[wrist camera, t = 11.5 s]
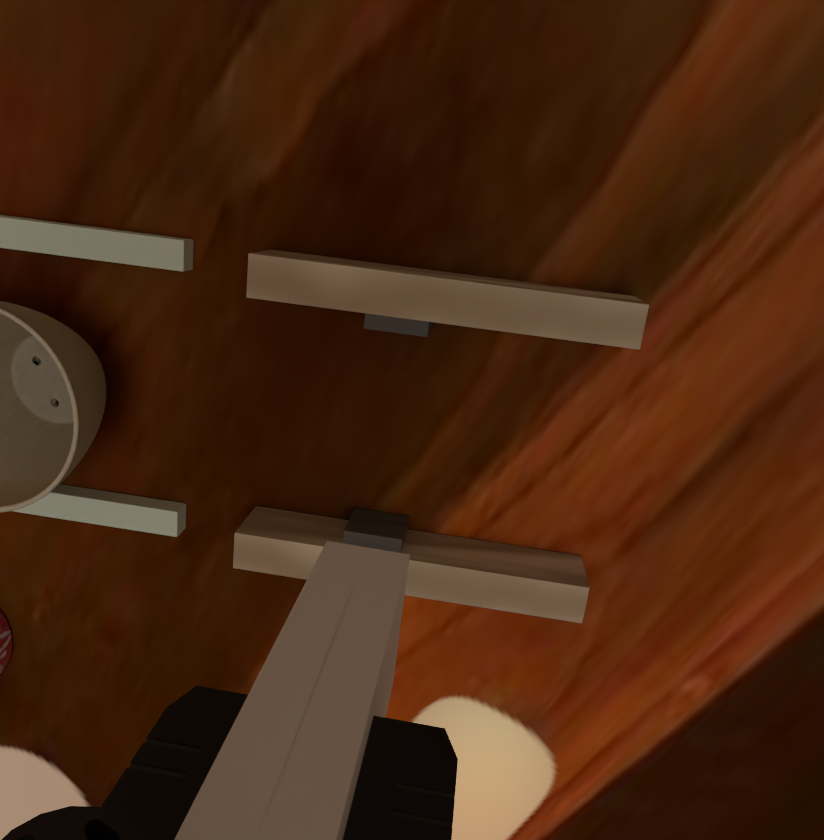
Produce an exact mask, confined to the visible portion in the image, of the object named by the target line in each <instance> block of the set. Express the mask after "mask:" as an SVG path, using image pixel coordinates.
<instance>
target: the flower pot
mask: <svg viewBox="0 0 824 840" xmlns="http://www.w3.org/2000/svg"><path fill="white" fill-rule="evenodd" d="M33 361H37V362H38V364H39V365H37V364H35V363H34V362H33ZM57 401H58V403H59V404H57ZM105 404H106V379H105V374H104V370H103V367H102V365H101V362H100V360H99V358H98V356H97V355H96V353H95V352H94V351H93V349H92V348H91V347H90V346H89V344H88V343H87V342H86V341H85V340H84V339H83V338H82V337H80V336H79V335H78V334H77V333H76V332H74V331H73V330H72V329H70V328H69V327H67V326H66V325H64V324H62V323H61V322H59V321H57V320H55V319H54V318H52V317H49V316H47V315H45V314H43V313H41V312H38V311H35V310H33V309H30V308H26V307H23V306H20V305H16V304H12V303H7V302H2V301H0V512H8V511H13V510H17V509H21V508H24V507H26V506H29V505H31V504H33V503H35V502H37V501H38V500H40V499H42V498H43V497H45V496H46V495H47V494H49V493H50V492H51V491H52V490H53V489H55V488H56V487H57V486H58V485H59V484H60V483H61V482H62V481H63V480H64V479H65V478H66V477H67V476H68V475H69V474H70V473H71V472H72V471H73V469H74V468H75V467H76V466H77V465H78V463H79V462H80V461H81V459H82V458H83V457H84V455H85V454H86V452H87V451H88V449H89V447H90V445H91V444H92V442H93V440H94V438H95V436H96V434H97V432H98V429H99V426H100V424H101V421H102V417H103V414H104V409H105Z"/></svg>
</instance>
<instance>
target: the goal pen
mask: <svg viewBox="0 0 824 840" xmlns="http://www.w3.org/2000/svg"><path fill="white" fill-rule="evenodd" d="M193 245H194V240H193V239H185V238H177V237H169V236H162V235H154V234H146V233H138V232H130V231H122V230H115V229H107V228H99V227H91V226H83V225H75V224H68V223H60V222H52V221H44V220H36V219H29V218H21V217H13V216H5V215H0V248H7V249H15V250H22V251H30V252H38V253H45V254H53V255H60V256H68V257H76V258H83V259H91V260H99V261H106V262H114V263H122V264H129V265H137V266H145V267H152V268H160V269H167V270H175V271H183V272H184V271H189V270H193ZM13 511H15V512H21V513H27V514H34V515H40V516H46V517H53V518H59V519H66V520H72V521H78V522H85V523H91V524H97V525H104V526H110V527H117V528H123V529H129V530H136V531H142V532H148V533H155V534H161V535H168V536H174V537H177V536H178V535H179V534H180V533H181V532H182V531H183V530H184V529H185V528H186V503H179V502H173V501H166V500H160V499H153V498H147V497H140V496H134V495H127V494H121V493H114V492H107V491H101V490H94V489H88V488H81V487H75V486H68V485H62V484H59V485H58V486H57V487H56V488H55V489H53V490H52V491H51V492H50V493H49V494H47V495H46V496H45V497H43V498H42V499H40V500H38V501H37V502H35V503H33V504H31V505H29V506H26V507H24V508H21V509H17V510H13Z"/></svg>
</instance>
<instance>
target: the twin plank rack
mask: <svg viewBox="0 0 824 840" xmlns="http://www.w3.org/2000/svg"><path fill="white" fill-rule="evenodd" d="M246 297H247V298H254V299H262V300H269V301H277V302H284V303H292V304H299V305H307V306H314V307H322V308H330V309H337V310H345V311H352V312H360V313H365V320H364V329H370V330H378V331H385V332H393V333H400V334H408V335H415V336H423V337H428V335H429V333H430V331H431V329H432V326H433V322H435V323H443V324H450V325H458V326H465V327H473V328H480V329H488V330H495V331H503V332H511V333H518V334H526V335H533V336H541V337H548V338H556V339H563V340H571V341H578V342H586V343H593V344H601V345H609V346H616V347H624V348H631V349H639V350H640V346H641V341H642V336H643V332H644V327H645V322H646V317H647V313H648V308H649V304H647V303H645V302H644V301H642V300H640V299H639V298H637V297H635V296H632V295H624V294H616V293H608V292H600V291H592V290H585V289H577V288H569V287H561V286H553V285H545V284H538V283H530V282H522V281H514V280H506V279H498V278H491V277H483V276H475V275H467V274H459V273H451V272H444V271H436V270H428V269H420V268H412V267H404V266H397V265H389V264H381V263H373V262H365V261H357V260H350V259H342V258H334V257H326V256H318V255H310V254H303V253H295V252H287V251H279V250H265V251H259V252H254V253H249V254H248V275H247V295H246ZM408 518H409V516H407V515H401V514H394V513H387V512H381V511H374V510H368V509H361V508H354V510H353V512H352V514H351V517H350V519H349V520H344V519H338V518H331V517H325V516H318V515H312V514H305V513H299V512H292V511H286V510H279V509H272V508H266V507H259V506H256V507H255V508H254V509H253V511H252V512H251V513H250V514H249V516H248V517H247V518H246V519H245V521H244V522H243V523H242V524H241V526H240V527H239V528H238V529H237V531H236V532H235V538H234V558H233V568H237V569H244V570H250V571H256V572H262V573H269V574H275V575H281V576H288V577H294V578H300V579H308V577H309V575H310V573H311V571H312V569H313V567H314V565H315V563H316V561H317V559H318V557H319V556H320V554H321V552H322V550H323V548H324V546H325V544H326V542H327V541H331V542H337V543H343V544H349V545H355V546H361V547H367V548H374V549H380V550H386V551H392V552H398V553H404V554H410V558H409V565H408V573H407V581H406V588H405V595H407V596H413V597H420V598H426V599H432V600H439V601H445V602H451V603H458V604H464V605H470V606H476V607H483V608H489V609H495V610H502V611H508V612H514V613H520V614H527V615H533V616H539V617H546V618H552V619H558V620H565V621H571V622H577V623H582V621H583V617H584V612H585V607H586V602H587V598H588V593H589V584H588V580H587V576H586V572H585V569H584V565H583V561H582V557H581V556H580V555H574V554H567V553H561V552H554V551H548V550H541V549H535V548H528V547H521V546H515V545H508V544H502V543H495V542H489V541H482V540H476V539H469V538H462V537H456V536H449V535H443V534H436V533H430V532H423V531H417V530H410V529H407V526H408Z"/></svg>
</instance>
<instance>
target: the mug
mask: <svg viewBox="0 0 824 840" xmlns="http://www.w3.org/2000/svg"><path fill="white" fill-rule="evenodd" d="M11 653H12V635H11V631H10V628H9V625H8V623H7V620H6V618H5V617H4V615H3V613H2V612H1V611H0V674H1V673H2V671H3V670H4V669H5V668H6V666H7V664H8V662H9V660H10V657H11Z"/></svg>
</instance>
